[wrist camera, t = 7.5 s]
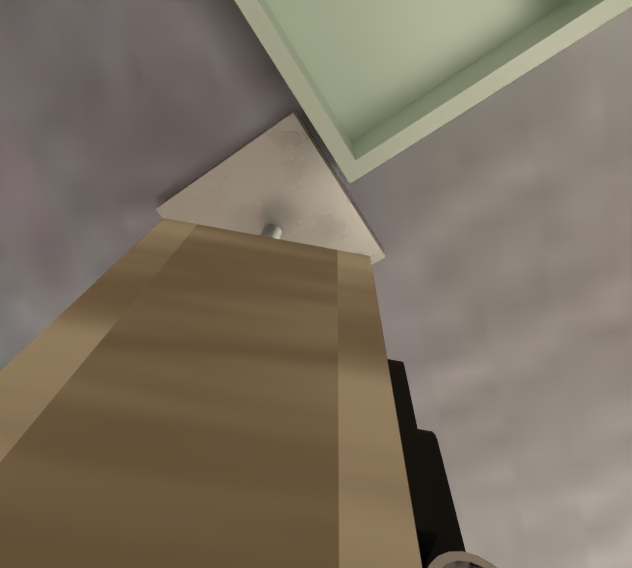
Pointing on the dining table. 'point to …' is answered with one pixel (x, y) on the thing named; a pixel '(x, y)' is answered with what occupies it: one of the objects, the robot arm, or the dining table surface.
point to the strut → (208, 415)
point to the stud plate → (278, 194)
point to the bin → (408, 61)
